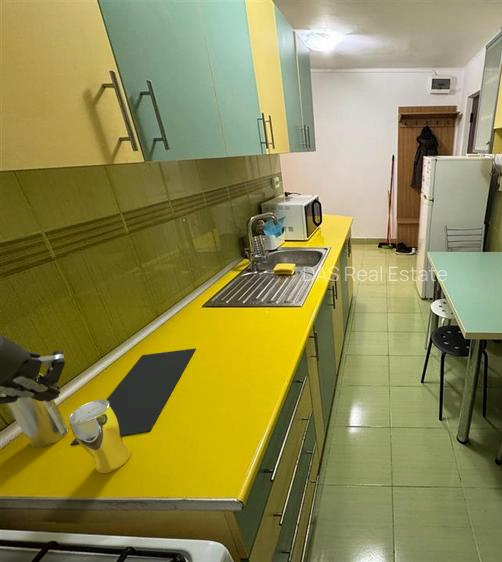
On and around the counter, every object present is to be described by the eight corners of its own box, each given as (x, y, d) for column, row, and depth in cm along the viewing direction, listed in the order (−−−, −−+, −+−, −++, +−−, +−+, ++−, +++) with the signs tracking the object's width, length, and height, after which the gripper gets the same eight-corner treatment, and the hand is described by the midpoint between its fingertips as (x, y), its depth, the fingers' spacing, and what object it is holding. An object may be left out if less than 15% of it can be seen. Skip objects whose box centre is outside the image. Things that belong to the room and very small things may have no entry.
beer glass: (90, 481, 64) (61, 430, 58) (97, 456, 70) (71, 407, 64) (131, 465, 68) (107, 414, 62) (134, 442, 73) (112, 394, 67)
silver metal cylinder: (42, 451, 71) (-13, 365, 61) (26, 443, 73) (-29, 358, 64) (75, 429, 77) (30, 347, 67) (59, 423, 79) (14, 341, 69)
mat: (70, 445, 73) (70, 444, 72) (142, 355, 105) (142, 354, 105) (150, 431, 76) (149, 430, 76) (196, 349, 108) (195, 348, 108)
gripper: (25, 311, 46) (94, 359, 59) (-108, 357, 40) (2, 399, 53) (30, 349, 42) (101, 391, 56) (-115, 405, 36) (5, 437, 50)
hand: (53, 395), depth 54 cm, fingers closed
